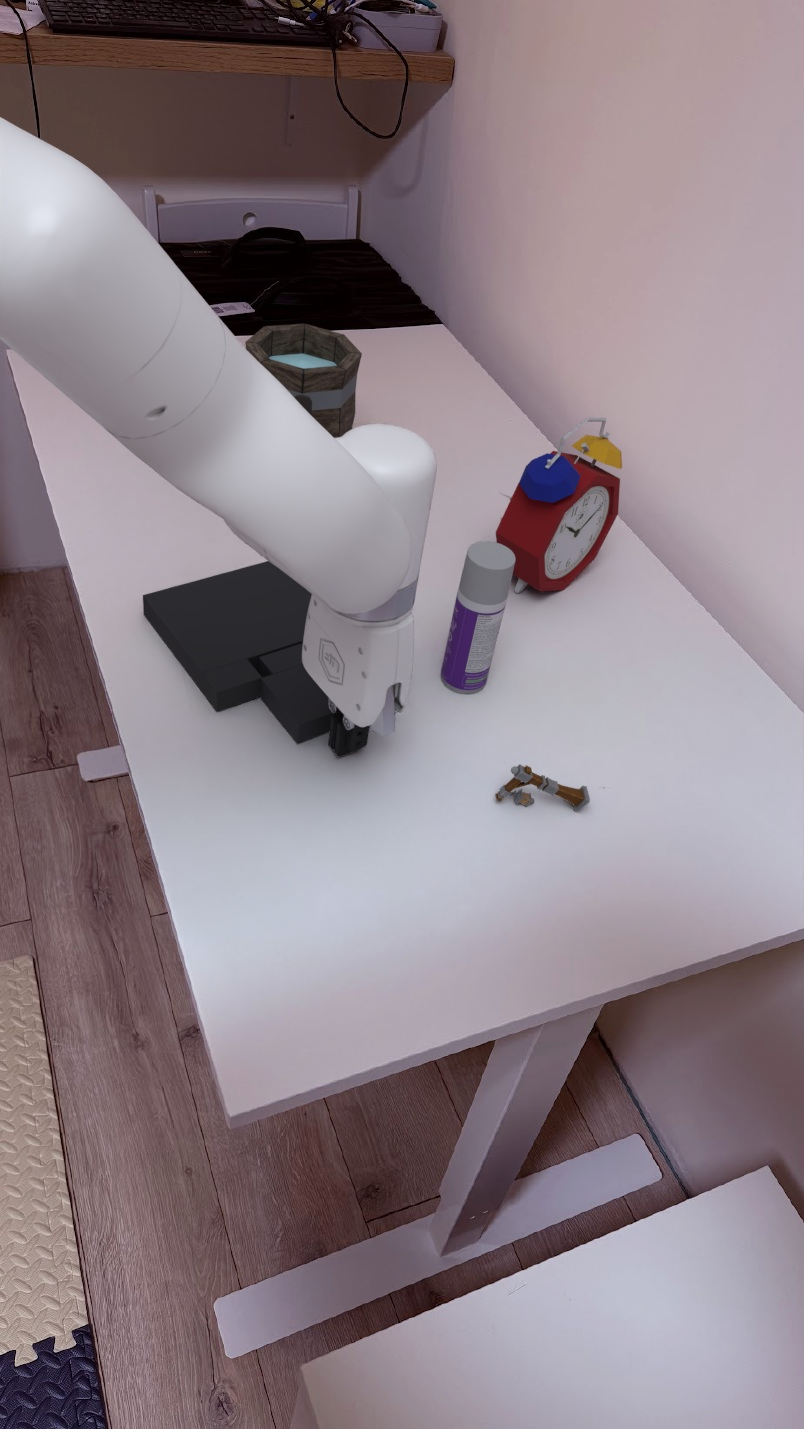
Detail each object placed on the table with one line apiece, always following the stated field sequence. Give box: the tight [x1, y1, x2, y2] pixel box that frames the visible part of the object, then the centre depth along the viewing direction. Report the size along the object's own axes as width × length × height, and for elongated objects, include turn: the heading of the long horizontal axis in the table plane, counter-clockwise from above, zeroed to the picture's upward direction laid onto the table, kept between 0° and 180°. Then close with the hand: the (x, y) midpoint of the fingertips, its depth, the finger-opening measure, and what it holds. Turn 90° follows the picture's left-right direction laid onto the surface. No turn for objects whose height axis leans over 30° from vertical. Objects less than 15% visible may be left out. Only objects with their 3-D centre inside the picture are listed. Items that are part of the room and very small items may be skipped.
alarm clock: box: [495, 417, 623, 594], centre depth 110 cm, size 15×9×20 cm, turn 136°
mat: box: [142, 560, 312, 713], centre depth 101 cm, size 16×16×2 cm
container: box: [440, 540, 516, 695], centre depth 97 cm, size 5×5×15 cm
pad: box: [258, 643, 334, 745], centre depth 96 cm, size 8×10×2 cm
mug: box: [245, 323, 363, 438], centre depth 120 cm, size 20×14×15 cm
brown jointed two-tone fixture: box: [494, 763, 591, 813], centre depth 90 cm, size 2×8×4 cm, turn 94°
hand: (347, 746), depth 92 cm, fingers closed
